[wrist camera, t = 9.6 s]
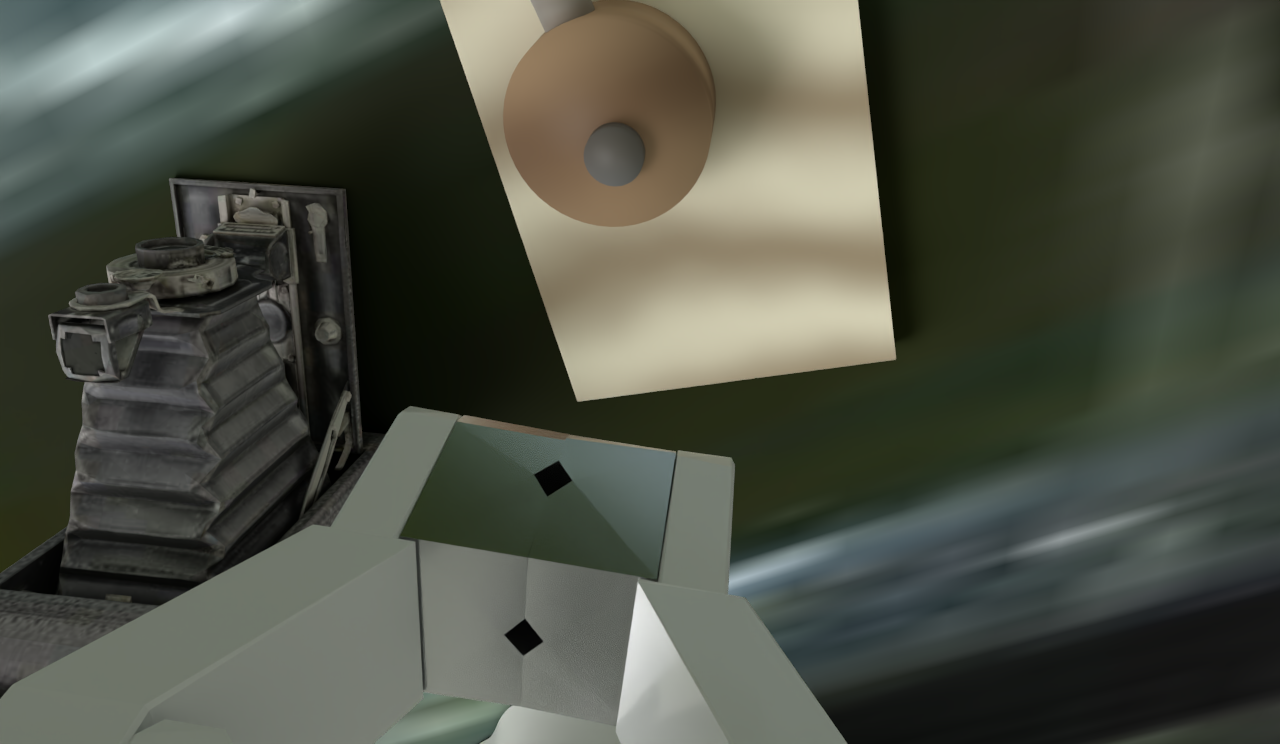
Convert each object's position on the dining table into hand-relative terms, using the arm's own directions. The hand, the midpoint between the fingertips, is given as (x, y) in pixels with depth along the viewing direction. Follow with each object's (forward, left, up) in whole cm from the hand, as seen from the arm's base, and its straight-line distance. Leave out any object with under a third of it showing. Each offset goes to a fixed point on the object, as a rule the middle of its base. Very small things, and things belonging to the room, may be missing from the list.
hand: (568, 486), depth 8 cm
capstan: (0, +5, -25) cm, 26 cm away
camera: (-11, +23, -27) cm, 37 cm away
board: (-4, +3, -27) cm, 27 cm away
